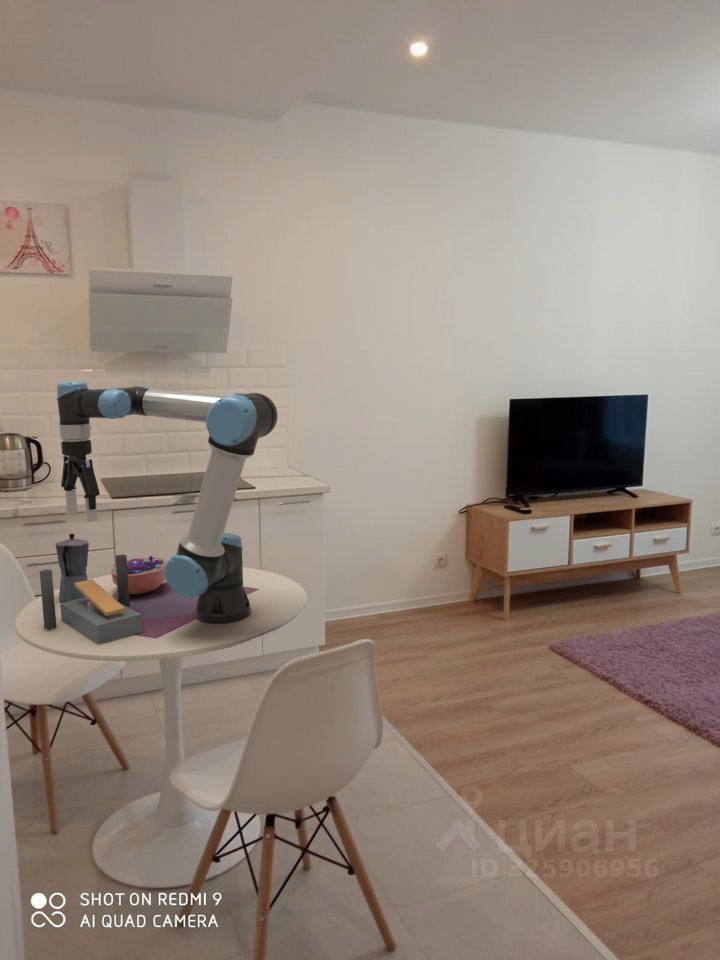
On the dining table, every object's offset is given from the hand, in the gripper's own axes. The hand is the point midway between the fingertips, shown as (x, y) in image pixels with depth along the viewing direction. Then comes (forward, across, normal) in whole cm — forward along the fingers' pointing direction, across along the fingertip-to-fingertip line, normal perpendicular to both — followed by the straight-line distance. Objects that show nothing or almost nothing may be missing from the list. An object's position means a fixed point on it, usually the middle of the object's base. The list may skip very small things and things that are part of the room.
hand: (81, 517), depth 204 cm
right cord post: (+29, 0, -10) cm, 30 cm away
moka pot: (+29, +18, -3) cm, 34 cm away
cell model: (+29, +13, -21) cm, 38 cm away
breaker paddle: (+20, -9, 0) cm, 22 cm away
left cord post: (+29, -1, +11) cm, 31 cm away
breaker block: (+29, -9, 0) cm, 30 cm away
